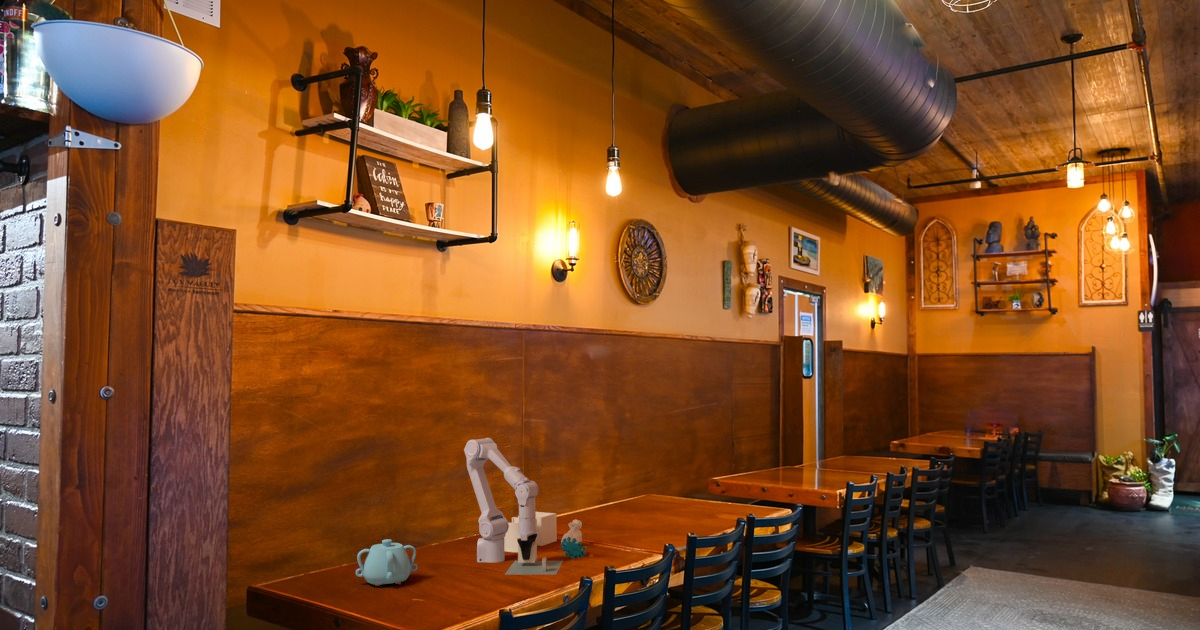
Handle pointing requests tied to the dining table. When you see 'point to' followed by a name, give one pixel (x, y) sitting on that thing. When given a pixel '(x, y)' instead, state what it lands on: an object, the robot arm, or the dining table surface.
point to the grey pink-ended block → (544, 564)
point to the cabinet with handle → (532, 555)
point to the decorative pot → (386, 563)
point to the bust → (574, 531)
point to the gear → (573, 548)
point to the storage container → (545, 535)
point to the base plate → (534, 568)
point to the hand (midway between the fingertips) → (527, 557)
